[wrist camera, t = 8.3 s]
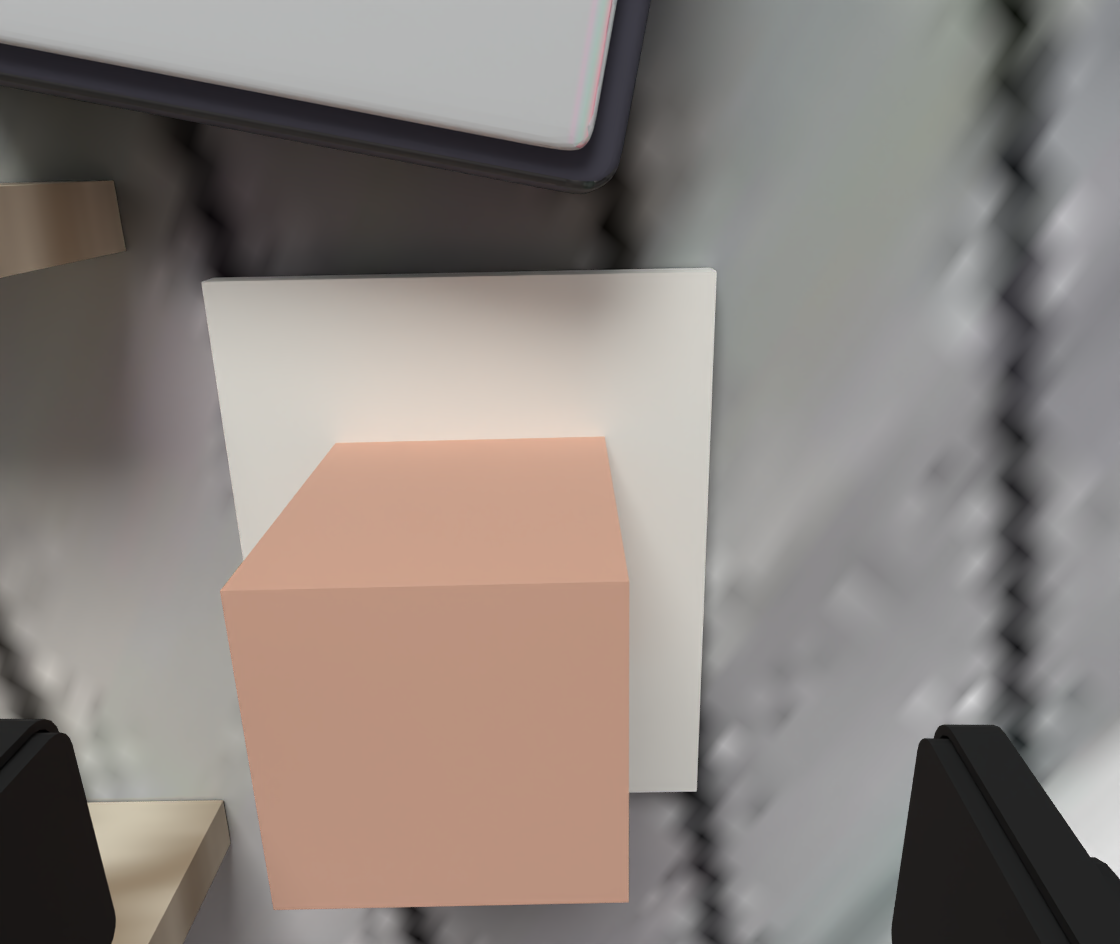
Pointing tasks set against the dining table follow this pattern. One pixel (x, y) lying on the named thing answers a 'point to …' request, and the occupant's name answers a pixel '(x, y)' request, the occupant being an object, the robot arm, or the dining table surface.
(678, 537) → the mat
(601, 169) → the calculator
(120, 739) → the dining table surface
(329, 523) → the block
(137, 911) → the u-shaped frame
